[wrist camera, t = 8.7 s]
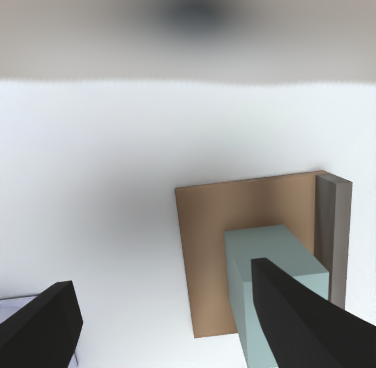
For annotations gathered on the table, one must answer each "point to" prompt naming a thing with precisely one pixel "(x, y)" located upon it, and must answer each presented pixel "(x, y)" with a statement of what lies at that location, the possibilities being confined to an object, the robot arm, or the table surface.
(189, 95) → the table surface
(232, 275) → the carton
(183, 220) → the shelf board
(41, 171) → the table surface
